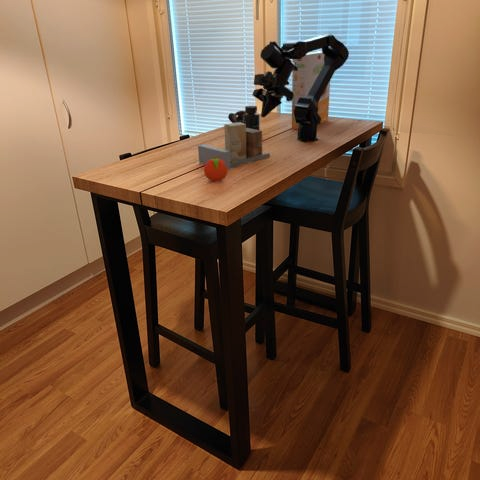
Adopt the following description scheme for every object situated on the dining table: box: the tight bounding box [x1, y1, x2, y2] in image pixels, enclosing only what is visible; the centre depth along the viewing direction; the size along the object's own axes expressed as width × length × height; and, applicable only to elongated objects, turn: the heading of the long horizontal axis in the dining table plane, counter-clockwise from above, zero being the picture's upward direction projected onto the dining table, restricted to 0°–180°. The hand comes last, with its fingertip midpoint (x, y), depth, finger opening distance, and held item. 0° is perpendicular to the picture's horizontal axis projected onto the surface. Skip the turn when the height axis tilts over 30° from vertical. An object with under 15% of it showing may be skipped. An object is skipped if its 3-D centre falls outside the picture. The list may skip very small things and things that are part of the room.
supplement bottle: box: [243, 105, 261, 131], centre depth 176 cm, size 7×7×12 cm
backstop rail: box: [197, 143, 271, 171], centre depth 146 cm, size 21×14×6 cm, turn 132°
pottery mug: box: [227, 110, 246, 123], centre depth 195 cm, size 12×10×8 cm
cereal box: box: [291, 50, 331, 130], centre depth 187 cm, size 22×6×30 cm, turn 143°
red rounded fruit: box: [203, 158, 228, 183], centre depth 125 cm, size 8×7×7 cm
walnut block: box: [246, 128, 263, 159], centre depth 149 cm, size 4×9×9 cm, turn 42°
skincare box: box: [223, 122, 247, 163], centre depth 145 cm, size 6×4×12 cm
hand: (262, 116), depth 150 cm, fingers closed
